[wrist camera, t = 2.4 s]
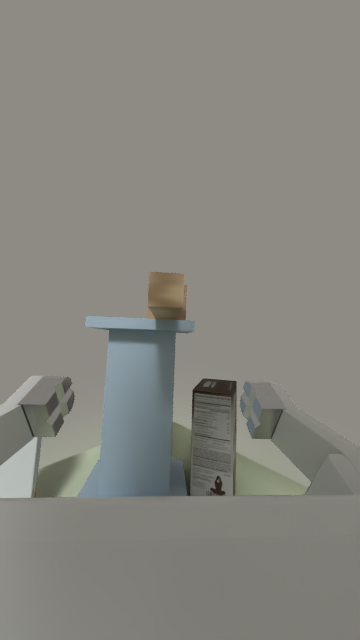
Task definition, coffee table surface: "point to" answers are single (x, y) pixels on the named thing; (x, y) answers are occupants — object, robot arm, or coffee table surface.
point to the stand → (138, 410)
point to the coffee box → (213, 438)
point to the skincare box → (21, 472)
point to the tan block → (166, 296)
